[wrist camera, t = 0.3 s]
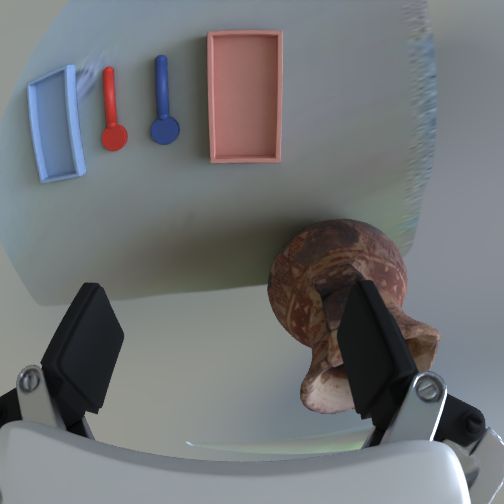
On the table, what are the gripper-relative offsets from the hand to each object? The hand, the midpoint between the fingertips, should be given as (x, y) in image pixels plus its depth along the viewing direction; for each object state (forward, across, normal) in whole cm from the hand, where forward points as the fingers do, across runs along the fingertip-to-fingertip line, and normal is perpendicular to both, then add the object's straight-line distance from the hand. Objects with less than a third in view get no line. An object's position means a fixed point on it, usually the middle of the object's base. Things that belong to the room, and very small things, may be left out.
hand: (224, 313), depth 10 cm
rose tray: (+31, -1, -7) cm, 31 cm away
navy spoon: (+31, +10, -7) cm, 33 cm away
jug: (+31, -15, +19) cm, 39 cm away
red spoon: (+31, +18, -7) cm, 36 cm away
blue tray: (+31, +29, -7) cm, 43 cm away
